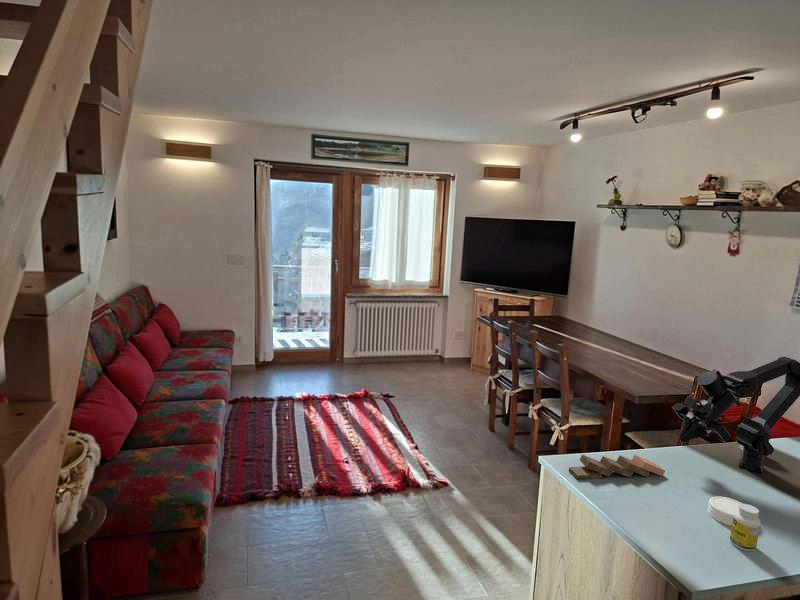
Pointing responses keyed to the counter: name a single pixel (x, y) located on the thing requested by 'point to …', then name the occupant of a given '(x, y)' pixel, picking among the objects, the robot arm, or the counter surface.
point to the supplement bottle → (745, 528)
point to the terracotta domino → (648, 465)
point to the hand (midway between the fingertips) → (680, 440)
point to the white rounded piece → (723, 509)
